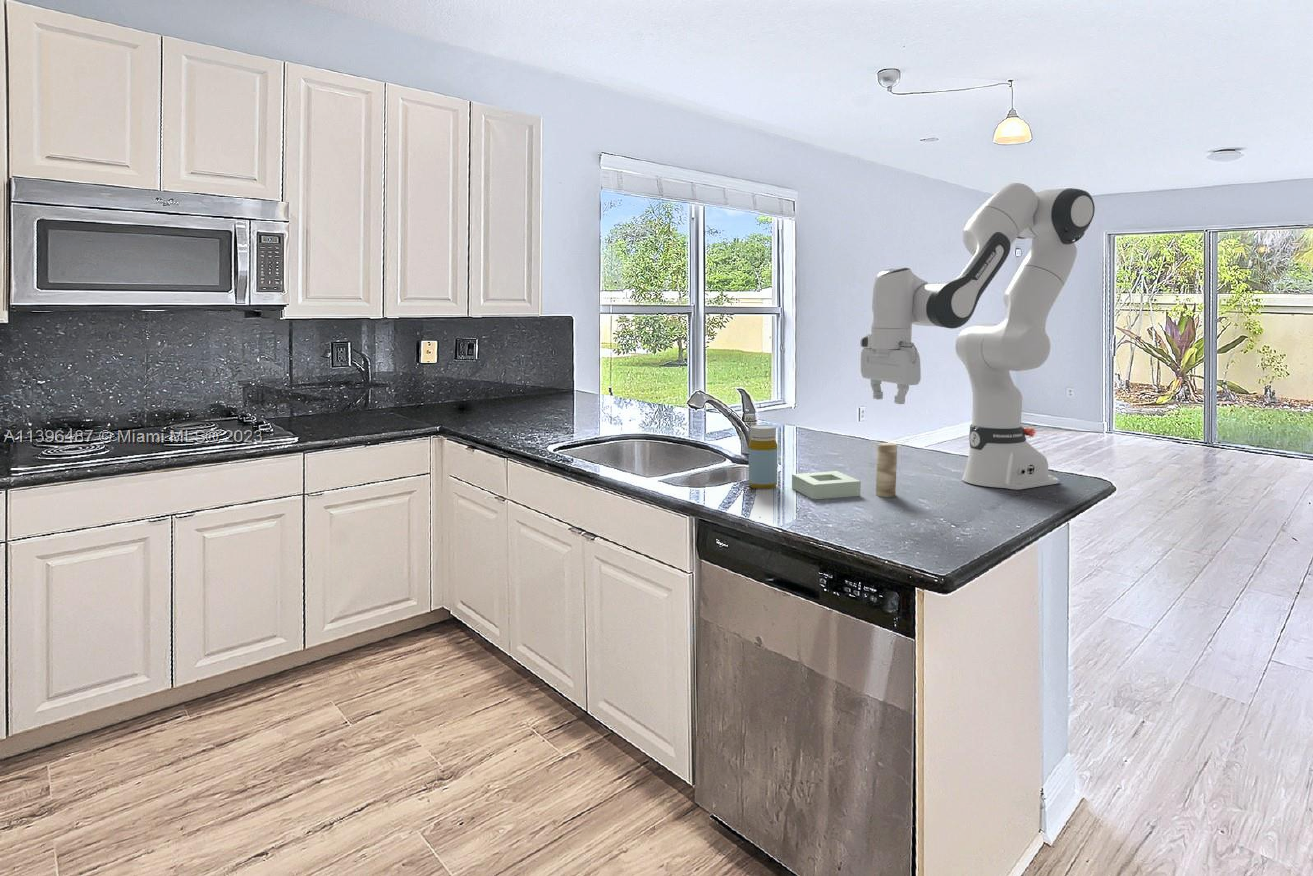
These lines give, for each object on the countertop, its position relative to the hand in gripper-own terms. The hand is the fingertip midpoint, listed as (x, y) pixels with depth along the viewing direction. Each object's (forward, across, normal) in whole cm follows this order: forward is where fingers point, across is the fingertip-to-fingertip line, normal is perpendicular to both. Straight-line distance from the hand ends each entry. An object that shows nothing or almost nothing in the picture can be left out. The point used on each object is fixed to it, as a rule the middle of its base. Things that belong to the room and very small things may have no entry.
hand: (888, 401), depth 179 cm
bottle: (+22, +17, +24) cm, 37 cm away
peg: (+22, 0, 0) cm, 22 cm away
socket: (+22, +7, +12) cm, 26 cm away
